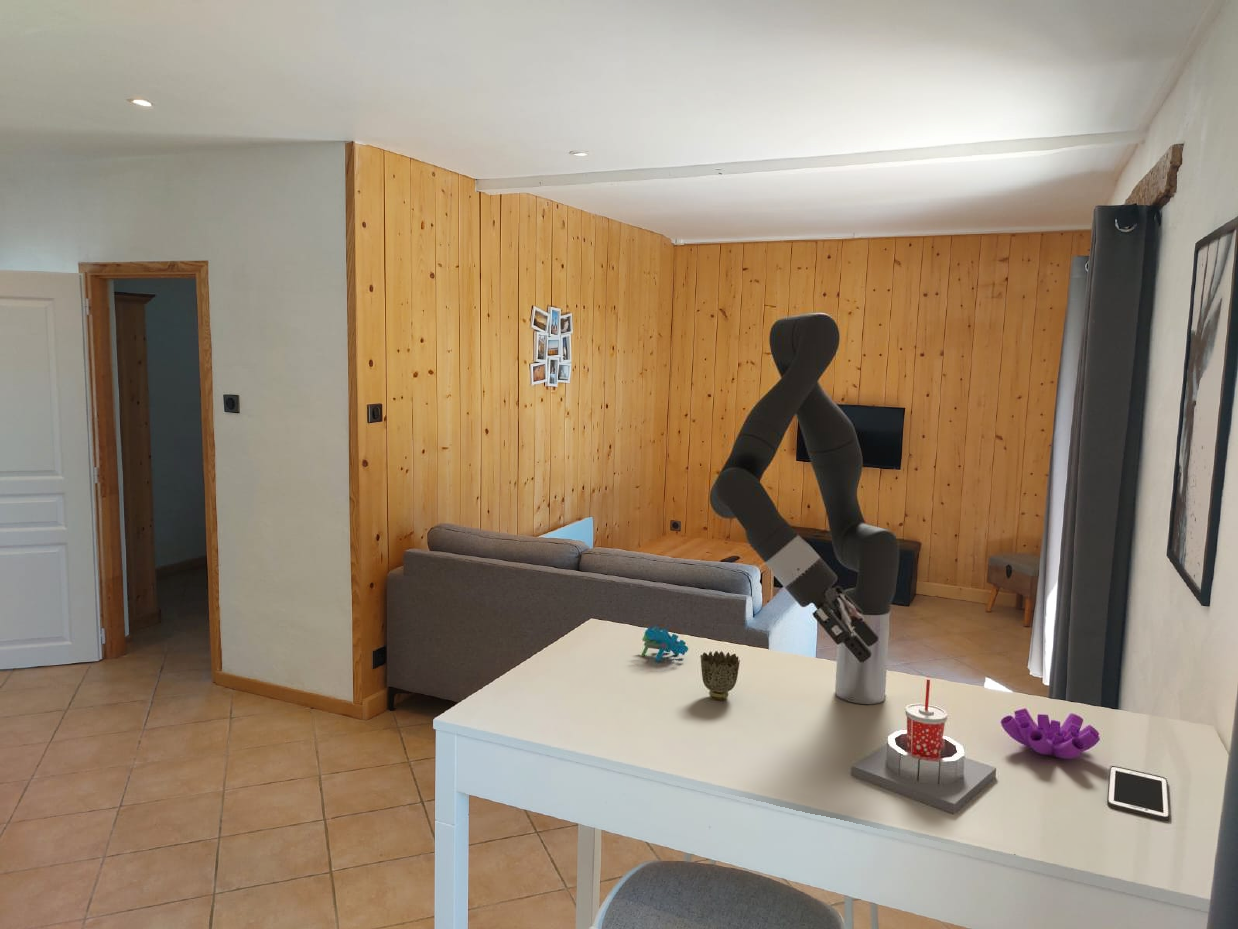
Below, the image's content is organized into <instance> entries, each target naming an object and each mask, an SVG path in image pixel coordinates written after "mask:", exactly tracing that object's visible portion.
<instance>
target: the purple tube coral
mask: <svg viewBox="0 0 1238 929" xmlns="http://www.w3.org/2000/svg"><path fill="white" fill-rule="evenodd" d="M1013 713H1014V716H1013V715H1006V716H1004V717H1003V718H1002V719H1000V725H1001V727H1002V728H1003V730H1004V731H1005V732H1006V733H1007V735H1008V736H1009V737H1011V738H1012V739H1013V740H1015V741H1016V742H1018V743H1019V744H1021V745H1023V746H1025V747H1027V748H1030V749H1033V750H1034V752H1035V753H1038V754H1039V755H1044V756H1053V757H1056V758H1060V759H1065V760H1072V759H1073V760H1074V759H1076V758H1078V757H1080V756H1081V755H1082V753H1083V752H1085V751H1088V750H1090V749H1091V748H1092V747H1094V746H1095V745H1097V744H1098V743H1099V742H1100V740H1101V736H1100V732H1099V731H1098V730H1097V729H1096V728H1095V727H1093V725H1090V724H1088V725H1086V726H1085V727H1084V728H1083V729H1081V728H1082V726H1083V724H1084V718H1082V717H1081V716H1080V715H1078V714H1076V713H1070V714H1069V715H1068V716H1067V717H1066V719H1065V721H1063V724H1062V725H1061V721H1059V720H1055V719H1051V720H1050V718H1049V714H1042V713H1041V714H1040V713H1039V714H1037V718H1036V719H1037V723H1036V722H1035V720H1034V719H1033V718H1032V716H1031V714H1030V711H1028V710H1027V708H1024V707H1023V708H1021V709H1018V710H1014V712H1013Z"/></svg>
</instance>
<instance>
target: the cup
mask: <svg viewBox="0 0 1238 929" xmlns="http://www.w3.org/2000/svg"><path fill="white" fill-rule="evenodd" d="M740 662H741V659H739V655H738V656H737V655H736V653H733V654H730V652H729V651H728V652H727V653H726V654H725V653H724V652H723V651H720V652H719V651H718V650H716V651H715V652H714V653H713V652H712V651H709V652H708V654H707V653H706V652H703V653H702V654H700V668H701V677H702V678H701V679H702V682H703V684H704V687H705V688H706V689H708V690H709V692H708V695H709V697H710V699H712V700H716V701H724V700H727V698H728V697H729V694H730V693H729V692H730V691H731V690H733V689H734V688H735V685H736V684H737V681H738V674H739V669H740Z"/></svg>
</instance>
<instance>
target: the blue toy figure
mask: <svg viewBox="0 0 1238 929" xmlns="http://www.w3.org/2000/svg"><path fill="white" fill-rule="evenodd" d="M678 639H679V635H676V634H675V633H673V634H672V635H670V633H669V630H667V629H664V628H662V630H660V628H659V627H658V626H653V628H652V627H650V626H648V627H647V629H646V630H645V631H644V635H643V637H642V639H641V640H642V641H643V642H644V644H643V646H644V648H643V650H642V652H641V656H642V657H645V656H646V654H647V651H648V649H655V650H658V652H657V653H656V656H655V659H654V661H655V662H656V663H659V662H660V661H661V659H662V656H663V655H664V652H665V653H671V652H672V653H673V654H674V655H676V656H679V654H680V655H682V656H685V654H686V653H687V652H688V651H689V646H687V645H686V644H687V642H686V641H684V640H683V639H680V640H679V641H678Z"/></svg>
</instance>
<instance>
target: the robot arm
mask: <svg viewBox="0 0 1238 929" xmlns="http://www.w3.org/2000/svg"><path fill="white" fill-rule="evenodd" d="M839 345H840V330H839V327H838V323H837V322H836V320H834V318H833V317H832V316H831V315H830V314H828V313H823V312H813V313H812V312H811V313H810V312H809V313H805V314H804V313H803V314H798V315H792V316H787V317H782V318H779V319H777V320H776V321H774V323H773V324H772V326H771V328H770V331H769V349H770V353H771V357H772V359H773V362H774V365H775V367H776V369H777V372H778V374H779V376H780V379H779V380H778V381H777V382H776V383H775V385H773V387H772V388H771V389H769V390H768V392H767V393H765V394H764V395H763V397H761V398H760V400H758V402H757V403H755V405H754V406H753V408H752V409H751V410H750V411H749V413H748V415H747V416H746V418H745V420H744V422H743V424H742V425H741V428H740V430H739V432H738V435H737V436H736V438H735V441H734V443H733V446H732V449H731V452H730V454H729V456H728V458H727V459H726V461H725V463H724V464H723V466H722V468H721V470H720V472H719V474H718V475H717V477H716V480H715V481H714V483H713V485H712V486H711V489H710V493H709V504H710V506H711V508H712V511H713V512H714V513H715V514H716V515H717V516H719V517H721V518H724V519H728V520H729V519H736V520H737V521H738V522H739V524H740V525H741V527H743V529H744V532H745V539H746V541H747V543H748V544H749V546H750V547H751V548H752V550H754V551H755V552H756V554H757V555H758V556H759V557H760V558H761V559H762V561H763V562H764V563H765V564H766V566H767V567H768V569H769V570H770V571H771V573H772V574H773V576H774V577H775V579H777V581H778V582H779V583H780V584H781V585H782V586H783V588H785V590H786V591H787V592H788V593H789V594H790V595H791V597H792V598H793V599H794V601H796V603H798V605H799V606H800V607H801V608H806V607H808V606H809V605H810V604H812V605H814V607H815V608H816V610H815V611H814V612H812V614H811V615H812V616H813V617H814V619H815V620H816V622H818V624H819V625H820V626H821V627H822V628H823V629H824V631H825V632H826V633H827V634H828V636H829V637H830V638H831V639H832V640H833V641H834V643H835V644H836V645H837V654H836V668H835V669H836V671H835V683H834V684H835V685H834V686H835V687H834V688H835V689H834V692H835V695H836V696H837V697H838V698H840V699H841V700H844V701H847V702H850V703H854V704H861V705H875V704H879V703H882V702H883V701H884V700H885V698H886V696H885V695H886V687H887V686H886V685H887V672H888V671H887V669H888V655H889V654H888V651H889V633H890V632H889V631H890V616H891V604H892V602H893V600H894V597H895V594H896V590H897V583H898V582H897V580H898V574H899V565H900V546H899V545H900V544H899V541H898V539H897V537H896V535H895V533H893V532H892V531H890V530H888V529H885V528H883V527H879V526H874V525H870V524H868V523H867V522H866V520H865V519H864V516H863V513H862V511H861V507H860V504H859V499H858V490H859V489H858V488H859V484H860V480H861V476H862V472H863V465H864V460H863V454H862V450H861V446H860V443H859V440H858V436H857V431H856V429H855V427H854V424H853V423H852V422H851V419H849V417H848V416H847V414H845V412H844V411H843V410H842V408H840V407H839V406H838V404H837V403H835V401H834V400H833V399H832V398H831V397H830V396H829V395H828V394H827V392H826V391H825V390H824V389H823V387H822V385H821V383H820V382H819V380H820V378H821V377H822V376H823V374H824V373H825V371H826V370H827V369H828V367H829V366H830V364H831V362H832V361H833V360H834V357H835V356H836V354H837V352H838V350H839ZM795 416H796V418H797V421H798V425H799V427H800V430H801V434H802V437H803V440H804V445H805V448H806V452H807V454H808V458H809V460H810V463H811V467H812V470H813V472H814V475H815V479H816V481H817V485H818V487H819V488H818V489H819V493H820V496H821V499H822V503H823V505H824V509H825V513H826V518H827V522H828V528H829V533H830V538H831V543H832V548H833V552H834V554H835V557H836V559H837V560H838V563H840V564H841V565H842V566H843V567H845V568H846V569H848V570H851V571H854V572H857V579H856V580H857V582H856V585H855V587H852V588H847V589H843V588H842V586H839V585H836V586H835V587H832V586H834V585H835V583H836V582H837V581H838V576H837V574H836V573H835V572H834V571H833V570H832V568H831V567H830V566H829V565H828V563H826V562H825V561H824V559H823V558H822V557H821V556H820V555H819V554H818V552H817V551H816V550H814V548H813V547H812V545H811V544H809V543H808V542H807V541H806V540H805V539H804V538H803V537H801V536H800V534H798V533H797V531H796V530H795V529H794V528H793V527H792V526H791V524H790V523H789V522H788V521H787V520H786V519H785V518H784V517H783V516H782V515H781V514H780V512H779V511H778V509H777V507H776V505H775V503H774V502H773V500H772V498H771V497H770V495H769V493H768V492H767V490H766V488H765V487H764V485H763V484H762V483H761V479H762V477H763V475H764V473H765V472H766V470H767V469H768V467H769V466H770V465H771V463H772V462H773V461H774V458H775V456H776V454H777V452H778V449H779V448H780V446H781V443H782V442H783V439H784V437H785V434H786V433H787V430H788V428H789V427H790V425H791V423H792V421H793V419H794V418H795Z"/></svg>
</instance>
